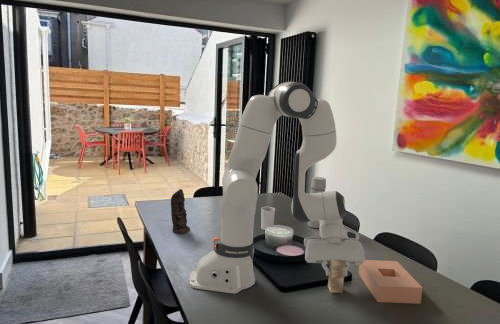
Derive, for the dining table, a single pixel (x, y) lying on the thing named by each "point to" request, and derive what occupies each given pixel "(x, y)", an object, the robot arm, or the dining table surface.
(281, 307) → the dining table surface
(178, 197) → the statue
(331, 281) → the peg
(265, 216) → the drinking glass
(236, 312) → the dining table surface
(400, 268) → the socket
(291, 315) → the dining table surface
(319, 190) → the water bottle
